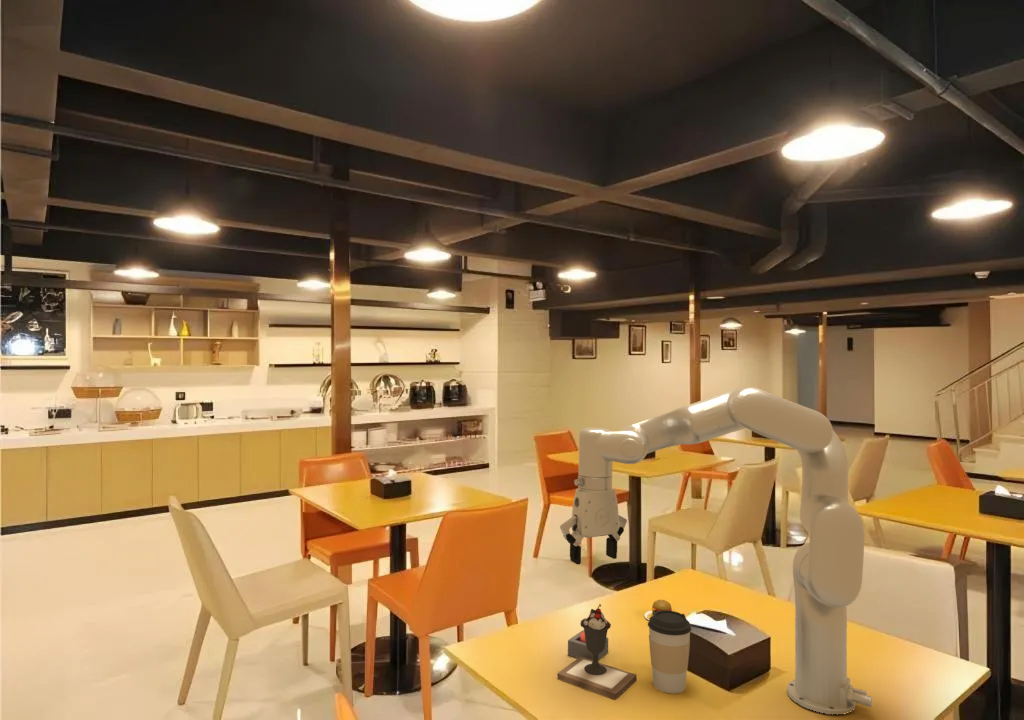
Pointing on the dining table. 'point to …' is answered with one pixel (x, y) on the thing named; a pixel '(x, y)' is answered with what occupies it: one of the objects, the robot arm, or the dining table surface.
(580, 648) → the button base
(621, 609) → the dining table surface
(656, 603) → the hamburger
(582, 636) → the button
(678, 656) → the coffee cup
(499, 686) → the dining table surface
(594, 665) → the sundae
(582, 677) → the drawing board
